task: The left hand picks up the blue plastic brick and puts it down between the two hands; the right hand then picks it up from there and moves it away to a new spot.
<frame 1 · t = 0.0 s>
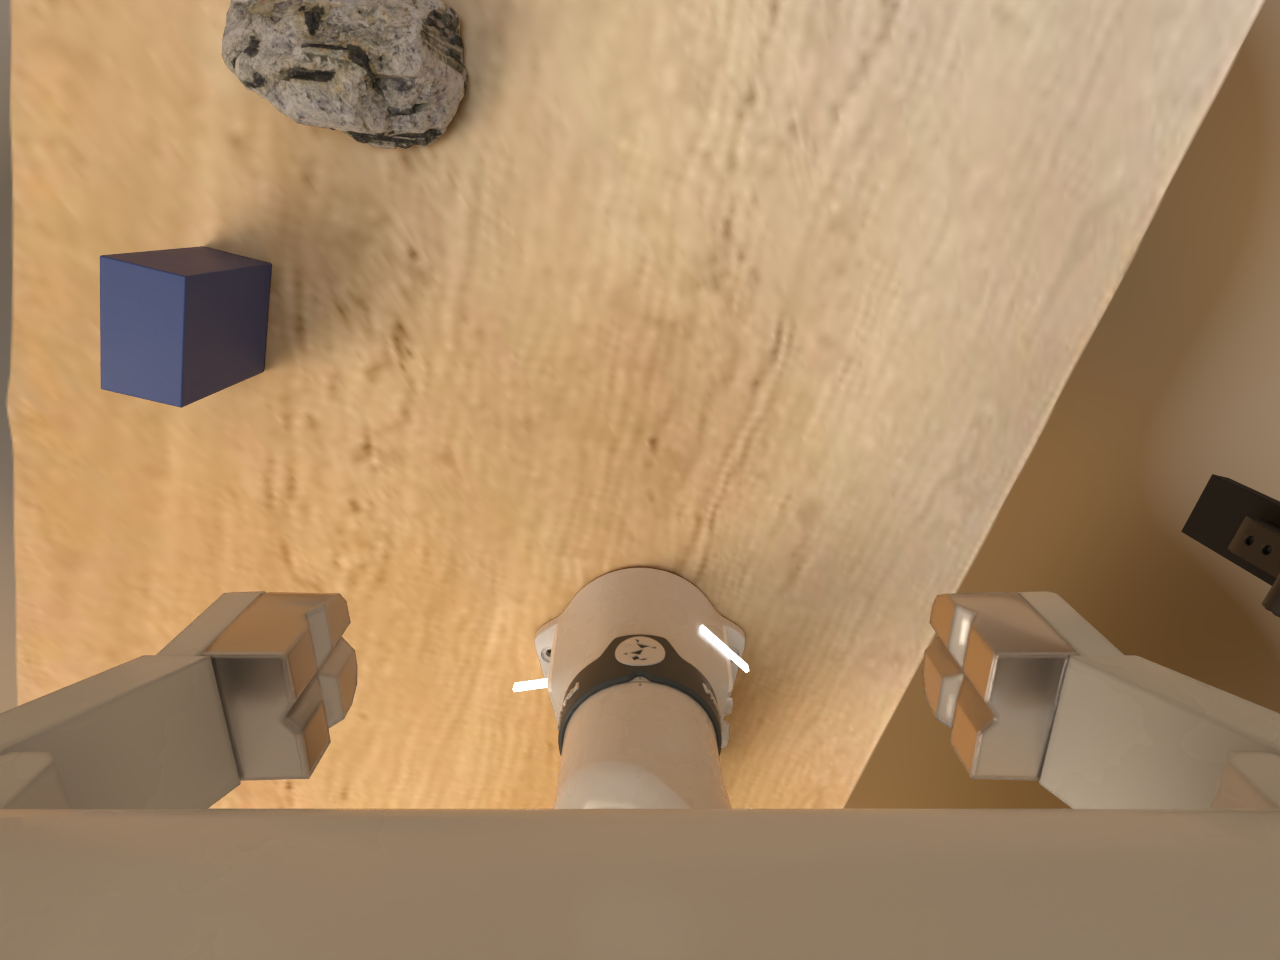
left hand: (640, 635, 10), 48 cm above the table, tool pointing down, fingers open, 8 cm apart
brick: (234, 310, 56), on the table
rock: (361, 55, 50), on the table
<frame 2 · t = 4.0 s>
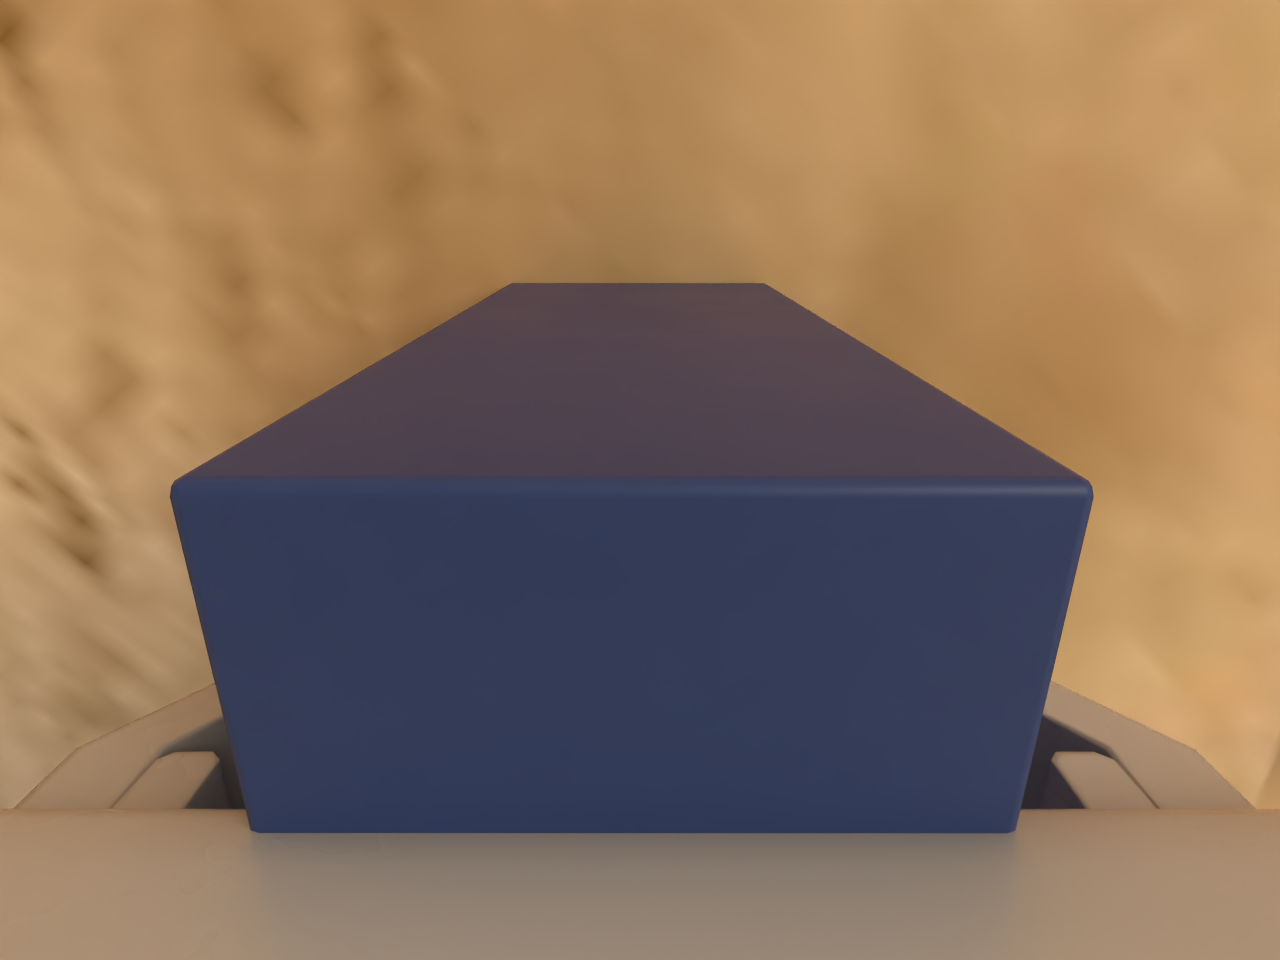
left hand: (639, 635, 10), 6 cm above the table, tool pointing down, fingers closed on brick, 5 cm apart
brick: (638, 485, 16), on the table, touching left hand
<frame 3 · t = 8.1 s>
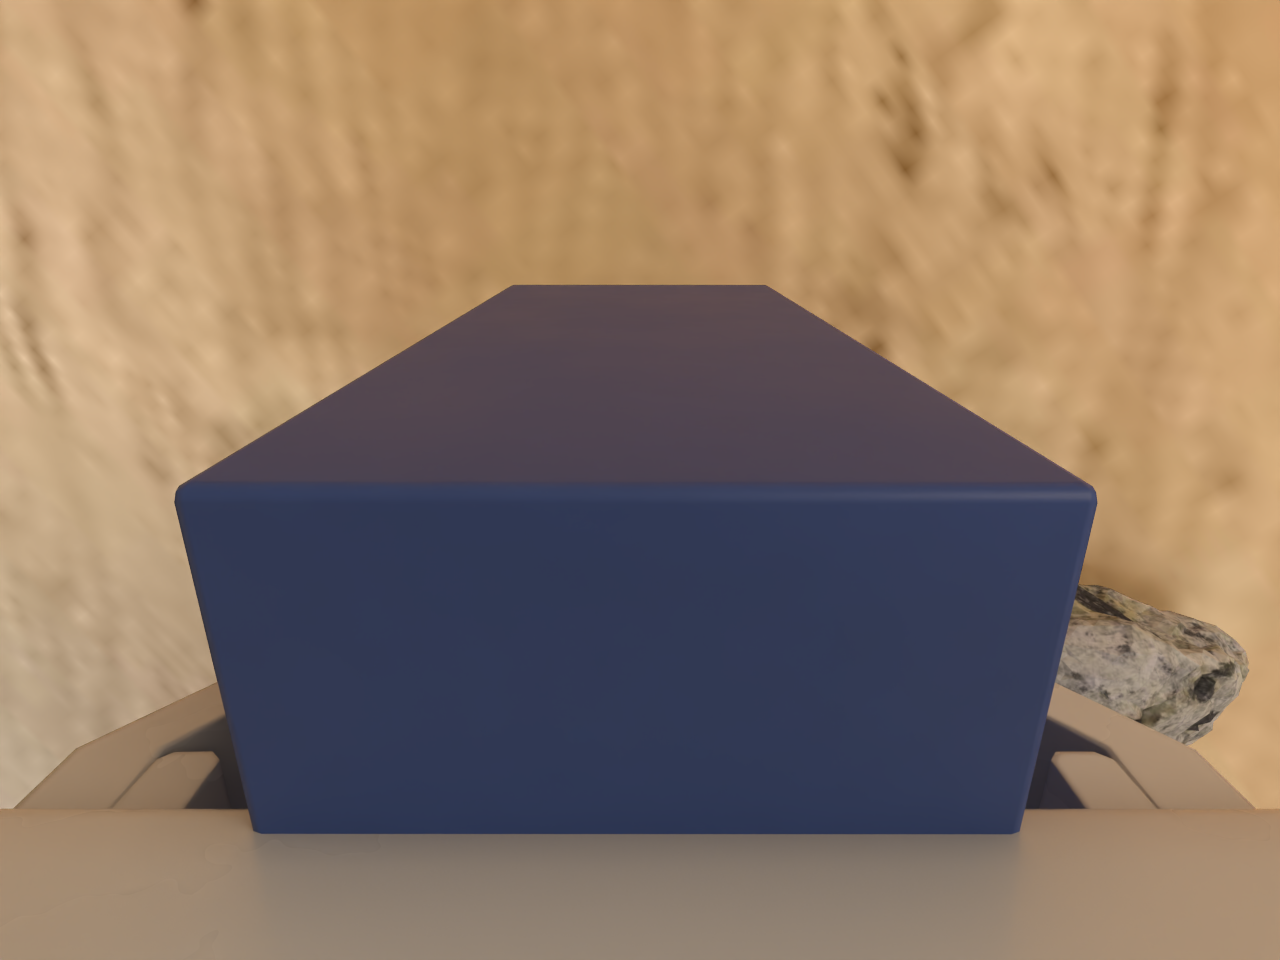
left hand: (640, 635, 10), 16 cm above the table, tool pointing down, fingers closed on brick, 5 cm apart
brick: (639, 486, 16), point 10 cm above the table, touching left hand
rock: (970, 659, 29), on the table
when the left hand's fingers open (8 cm above the table, at t = 12.7 s): brick drops 2 cm, on the table.
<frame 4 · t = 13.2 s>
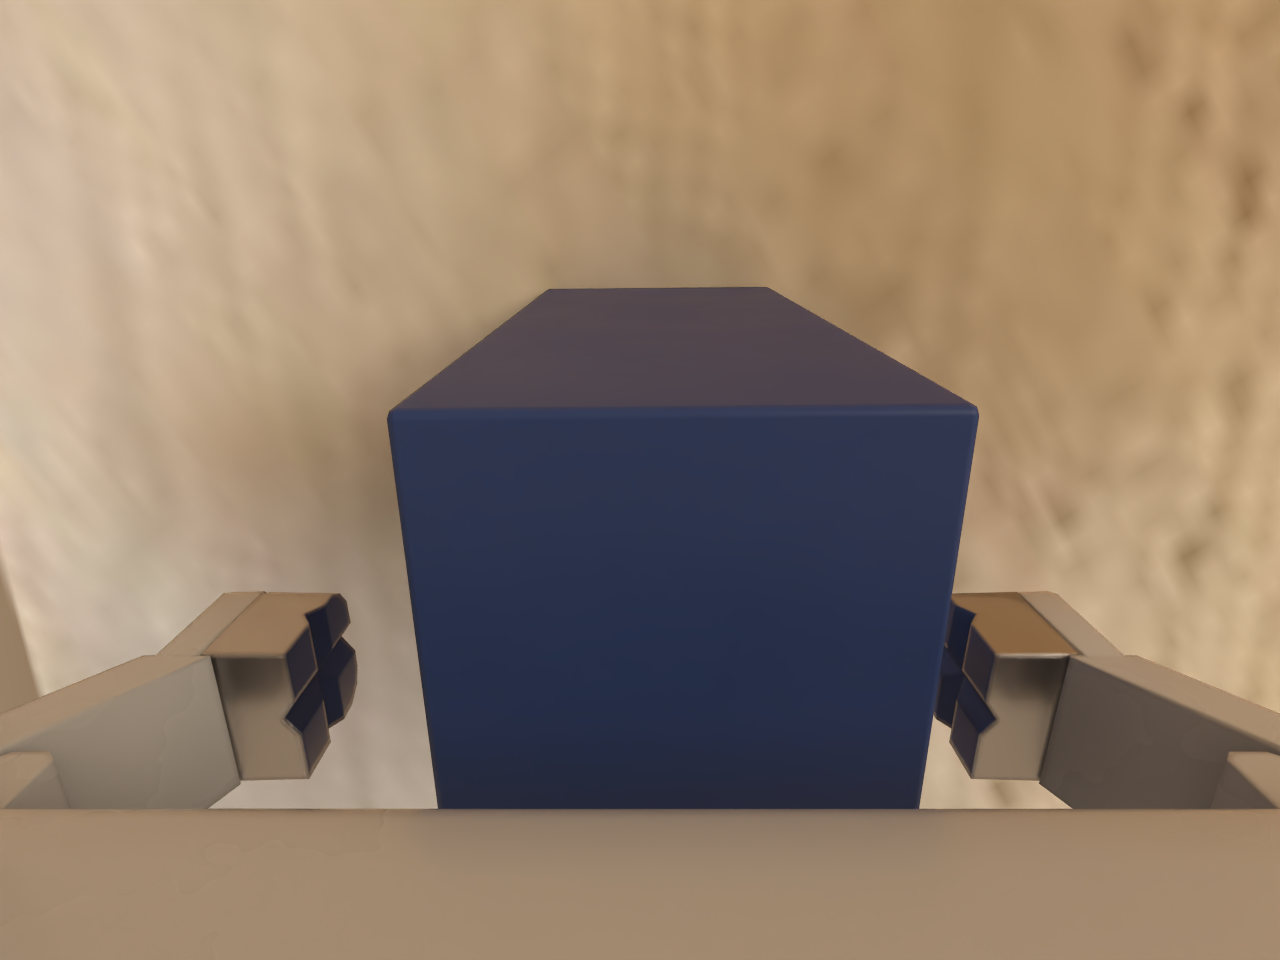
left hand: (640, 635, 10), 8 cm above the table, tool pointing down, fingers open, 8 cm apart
brick: (658, 464, 18), on the table
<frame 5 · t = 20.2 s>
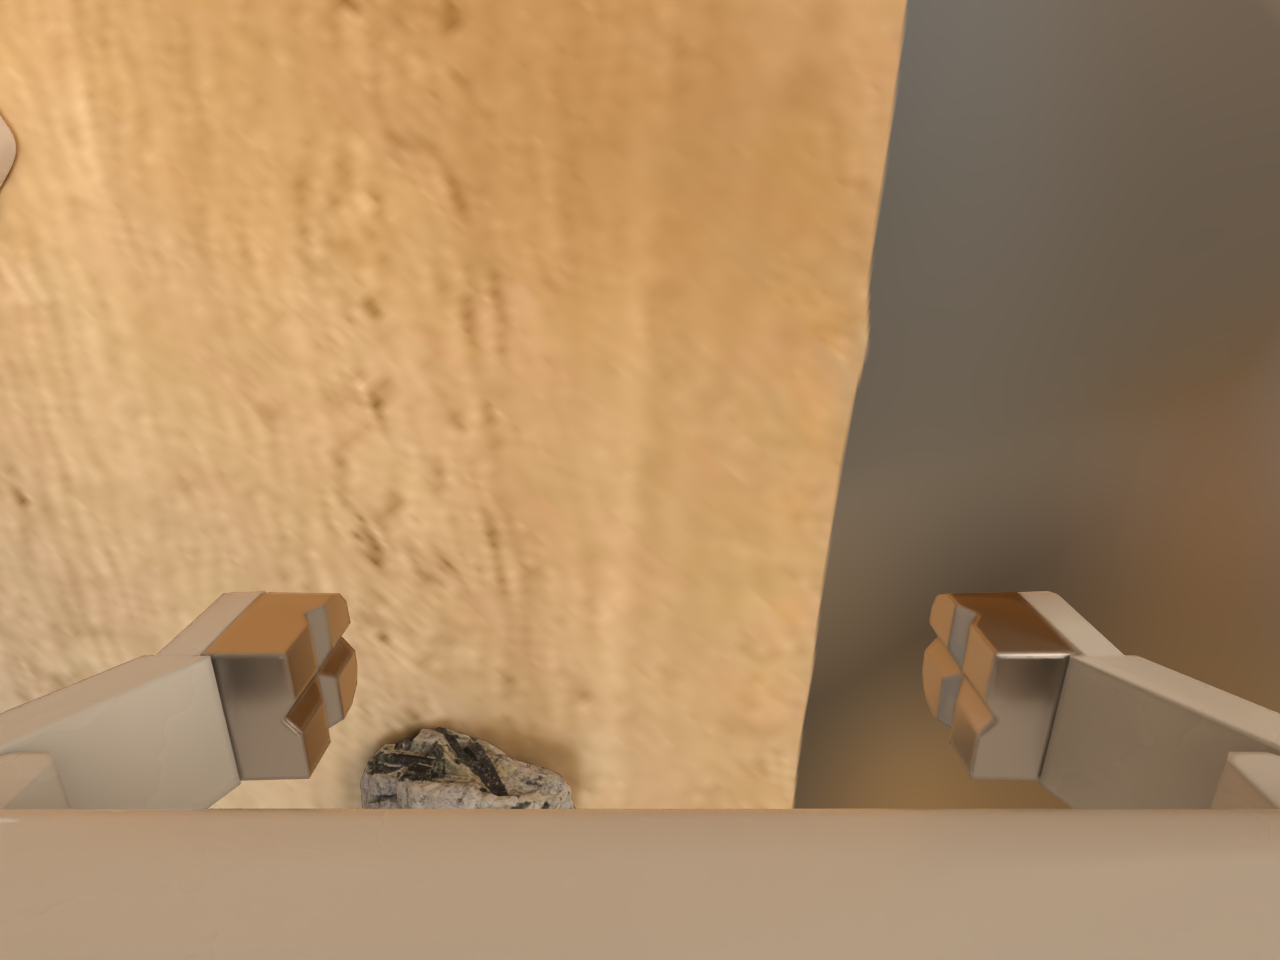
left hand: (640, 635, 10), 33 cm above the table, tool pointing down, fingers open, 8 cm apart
rock: (475, 782, 53), on the table
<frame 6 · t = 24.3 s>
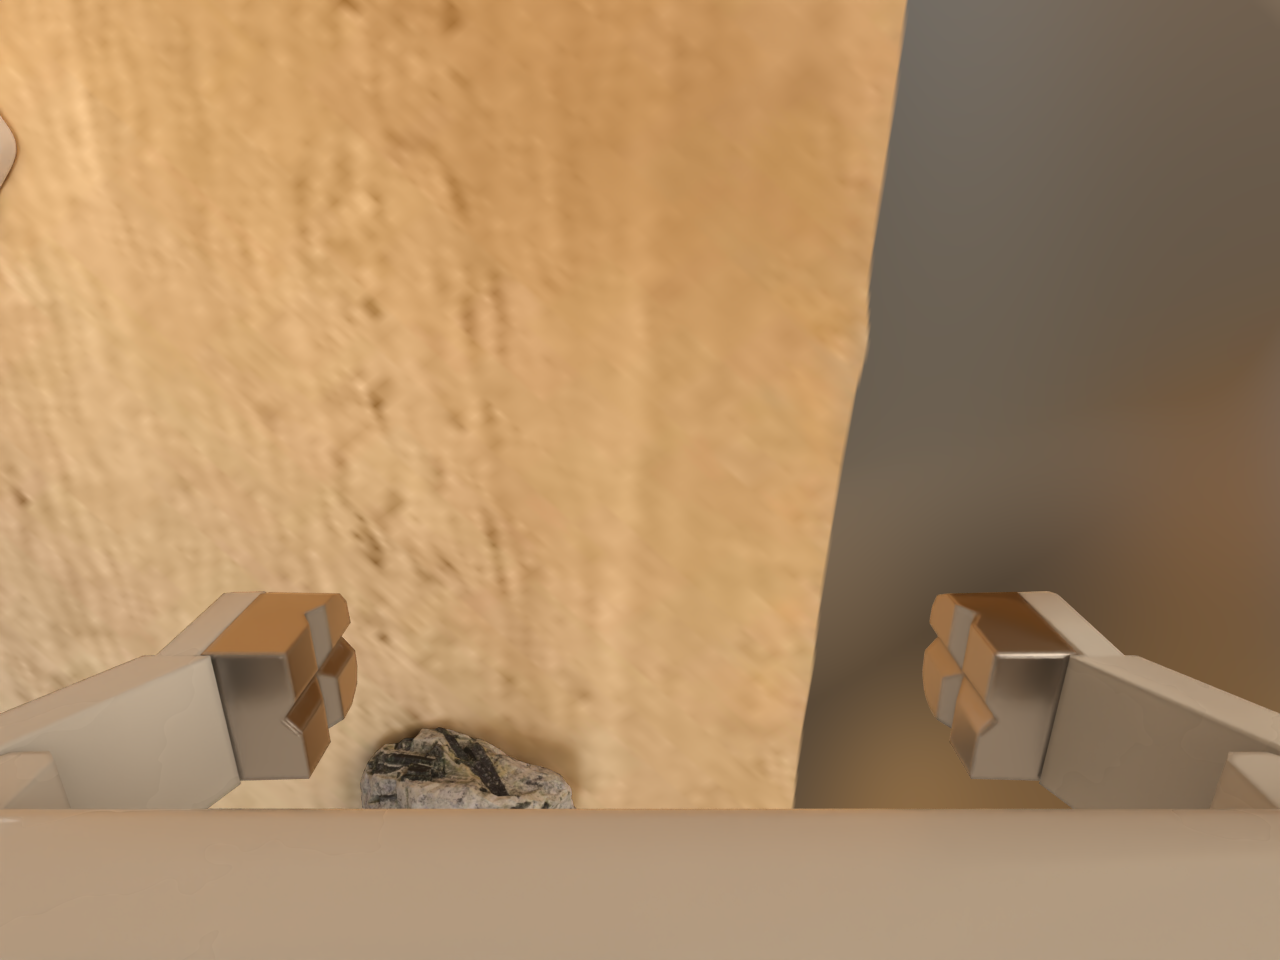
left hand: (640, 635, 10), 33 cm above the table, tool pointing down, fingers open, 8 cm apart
rock: (475, 782, 53), on the table
when the right hand's fingers open (5 cm above the table, at t = 28.7 s): brick drops 2 cm, on the table.
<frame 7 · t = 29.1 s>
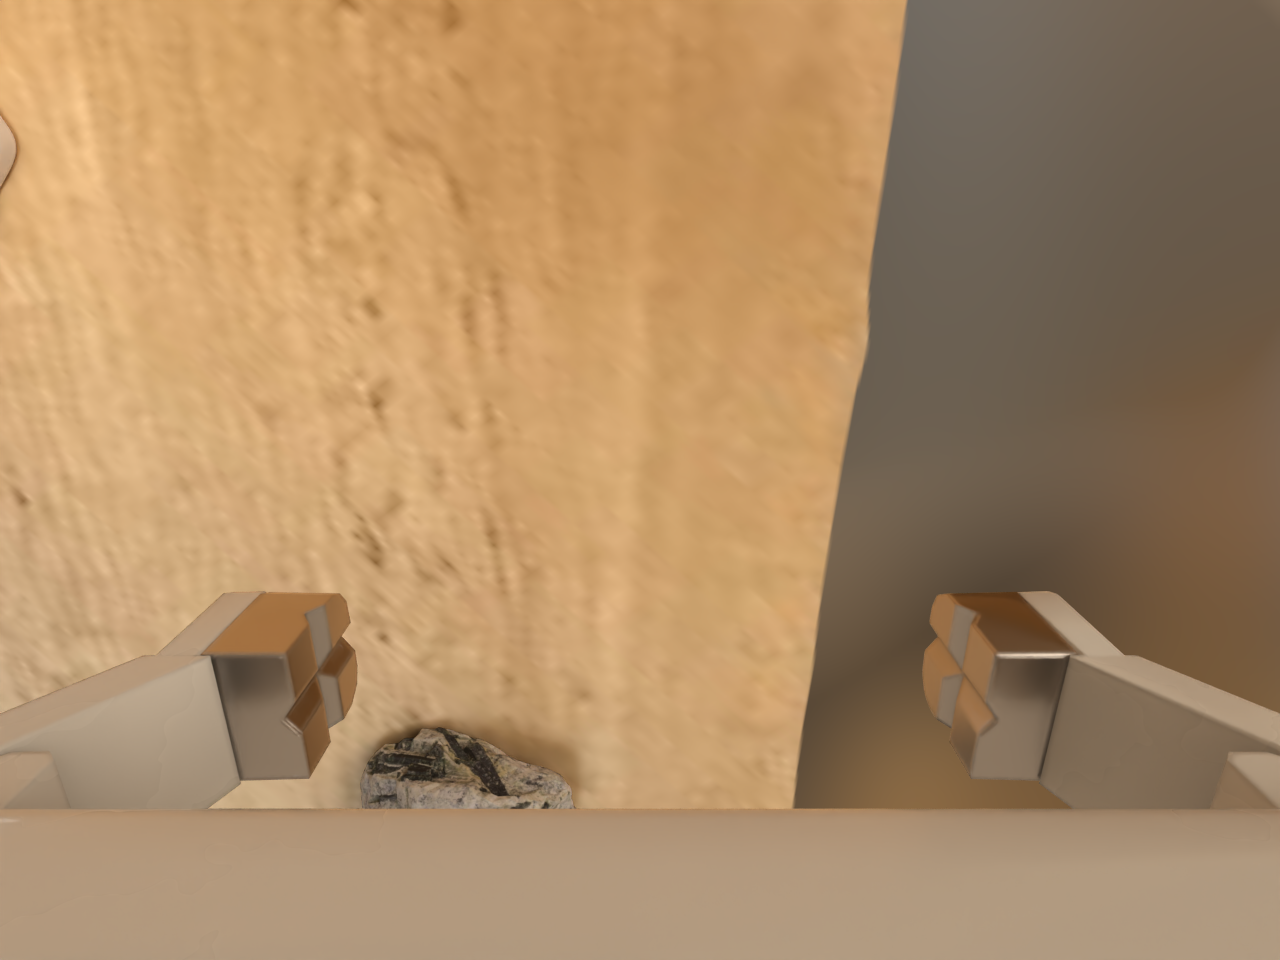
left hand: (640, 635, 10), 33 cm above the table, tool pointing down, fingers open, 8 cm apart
rock: (475, 782, 53), on the table
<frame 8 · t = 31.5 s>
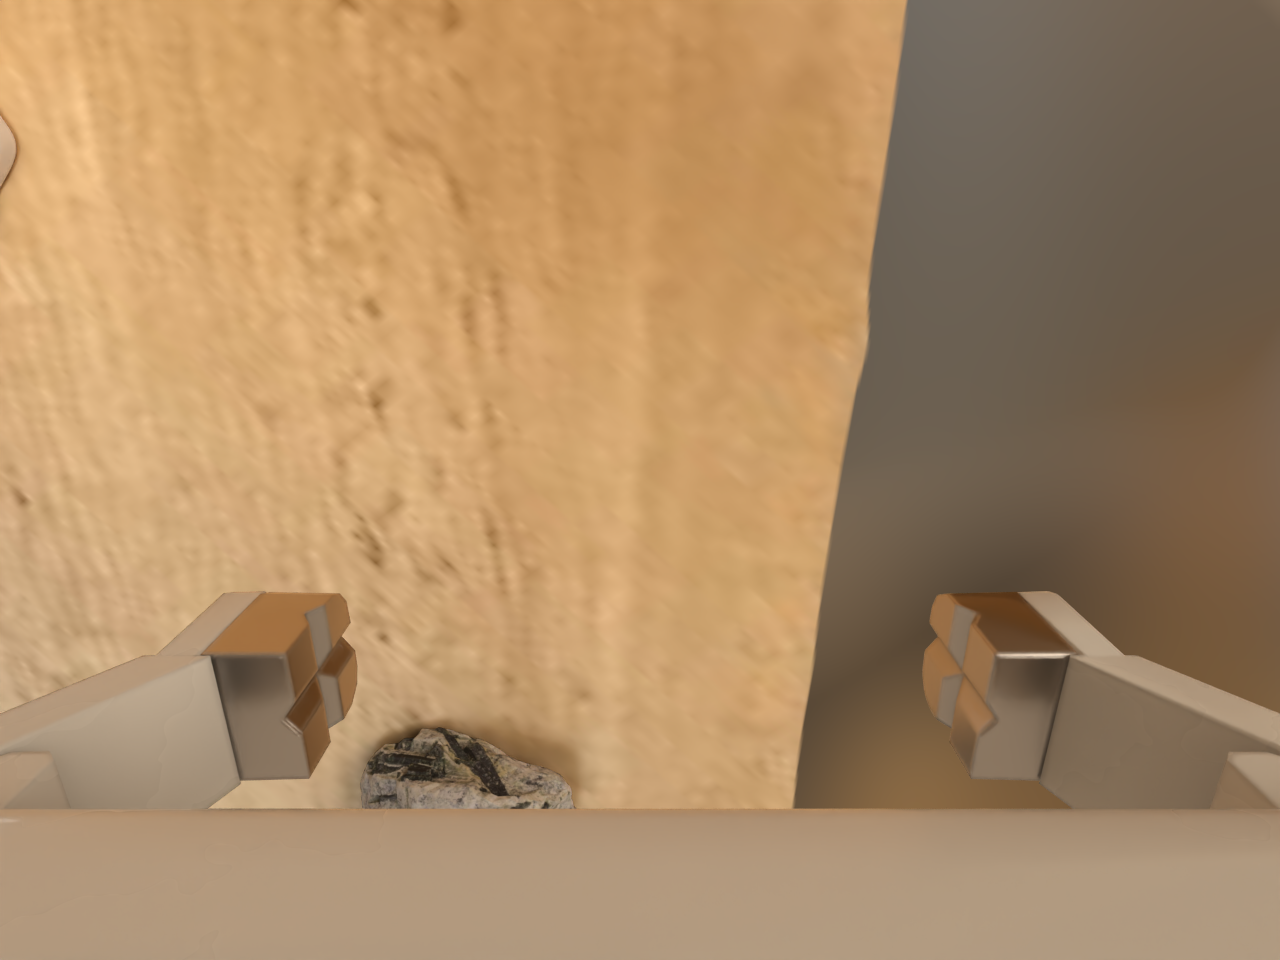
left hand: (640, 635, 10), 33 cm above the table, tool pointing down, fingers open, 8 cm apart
rock: (475, 782, 53), on the table
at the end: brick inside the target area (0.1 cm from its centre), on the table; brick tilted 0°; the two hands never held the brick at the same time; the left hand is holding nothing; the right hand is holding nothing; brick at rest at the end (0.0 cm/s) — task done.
